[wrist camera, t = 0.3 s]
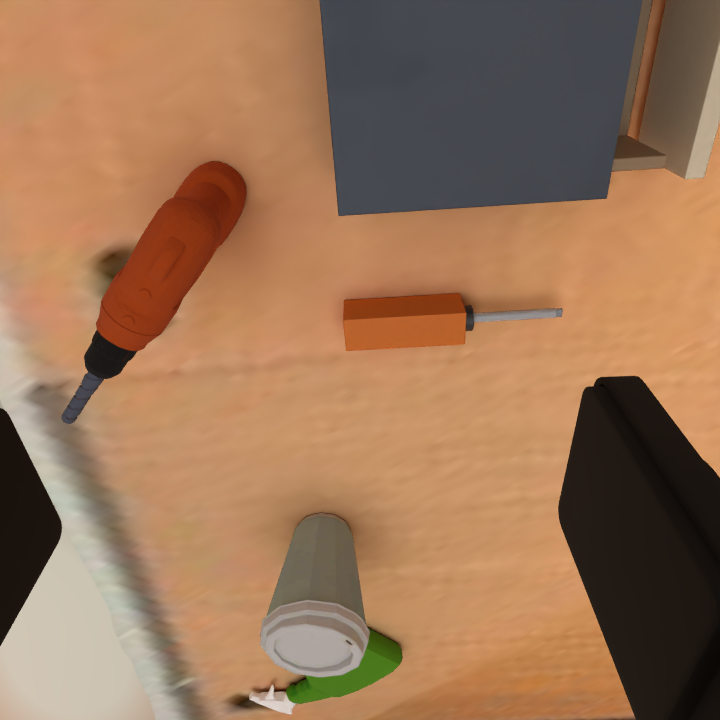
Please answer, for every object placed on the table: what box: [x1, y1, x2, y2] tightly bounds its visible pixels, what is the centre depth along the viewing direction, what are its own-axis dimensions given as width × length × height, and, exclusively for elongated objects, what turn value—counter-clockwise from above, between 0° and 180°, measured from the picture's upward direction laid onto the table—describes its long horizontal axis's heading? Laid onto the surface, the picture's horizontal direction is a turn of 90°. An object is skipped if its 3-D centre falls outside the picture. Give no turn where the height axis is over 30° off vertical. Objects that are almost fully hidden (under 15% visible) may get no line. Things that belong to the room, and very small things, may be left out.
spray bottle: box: [249, 628, 403, 714], centre depth 79 cm, size 3×11×24 cm
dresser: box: [320, 0, 642, 216], centre depth 34 cm, size 17×14×9 cm
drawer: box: [611, 0, 720, 179], centre depth 34 cm, size 17×13×7 cm
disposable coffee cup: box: [260, 513, 370, 677], centre depth 58 cm, size 11×11×15 cm
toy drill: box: [61, 161, 246, 424], centre depth 39 cm, size 5×19×15 cm, turn 142°
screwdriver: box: [343, 293, 563, 351], centre depth 47 cm, size 18×3×4 cm, turn 94°
